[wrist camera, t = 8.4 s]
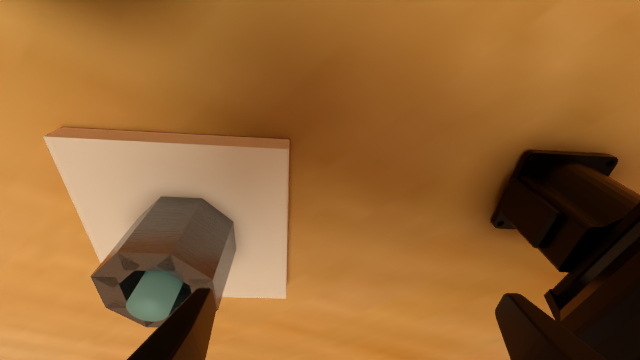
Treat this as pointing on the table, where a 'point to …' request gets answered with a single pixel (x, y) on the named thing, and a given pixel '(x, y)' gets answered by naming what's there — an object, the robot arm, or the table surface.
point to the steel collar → (169, 253)
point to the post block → (181, 181)
